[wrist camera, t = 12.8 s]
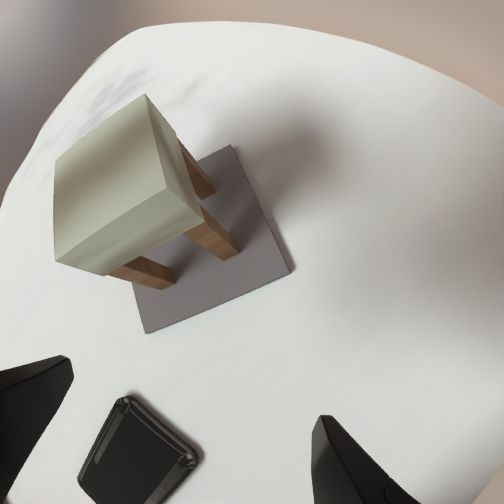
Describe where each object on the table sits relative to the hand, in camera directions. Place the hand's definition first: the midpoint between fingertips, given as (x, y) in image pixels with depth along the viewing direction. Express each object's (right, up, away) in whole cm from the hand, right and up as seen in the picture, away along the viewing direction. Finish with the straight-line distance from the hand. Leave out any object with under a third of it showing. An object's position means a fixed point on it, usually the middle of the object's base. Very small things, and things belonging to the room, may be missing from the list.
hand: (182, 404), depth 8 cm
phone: (-8, -14, +9) cm, 19 cm away
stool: (-2, +6, +12) cm, 14 cm away
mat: (-2, +6, +12) cm, 14 cm away
